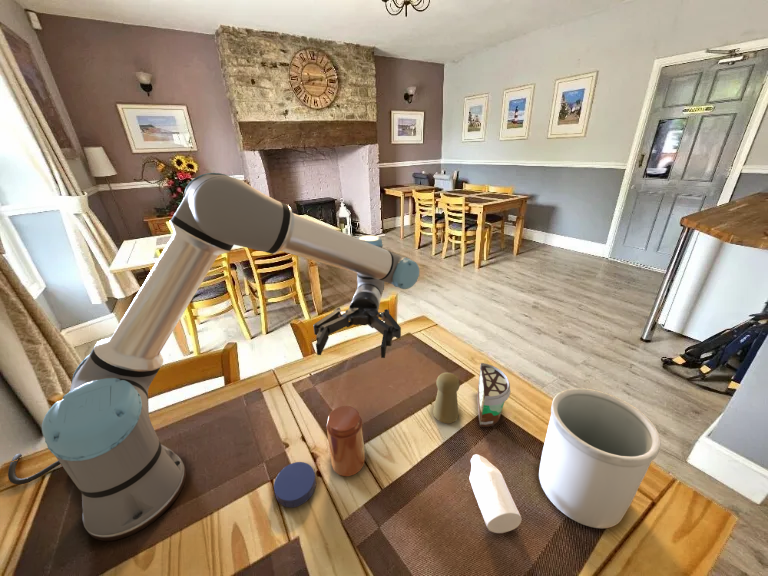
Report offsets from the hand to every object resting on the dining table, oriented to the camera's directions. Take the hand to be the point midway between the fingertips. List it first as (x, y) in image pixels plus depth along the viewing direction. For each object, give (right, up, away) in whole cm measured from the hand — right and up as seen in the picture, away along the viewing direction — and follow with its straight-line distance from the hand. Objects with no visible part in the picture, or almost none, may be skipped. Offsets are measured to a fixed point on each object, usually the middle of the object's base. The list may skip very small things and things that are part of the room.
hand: (350, 351), depth 64 cm
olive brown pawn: (+22, -17, +10) cm, 30 cm away
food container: (+33, -17, +10) cm, 38 cm away
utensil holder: (+43, -24, -6) cm, 50 cm away
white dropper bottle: (+26, -25, -7) cm, 37 cm away
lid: (-10, -24, -6) cm, 26 cm away
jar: (0, -23, 0) cm, 23 cm away
